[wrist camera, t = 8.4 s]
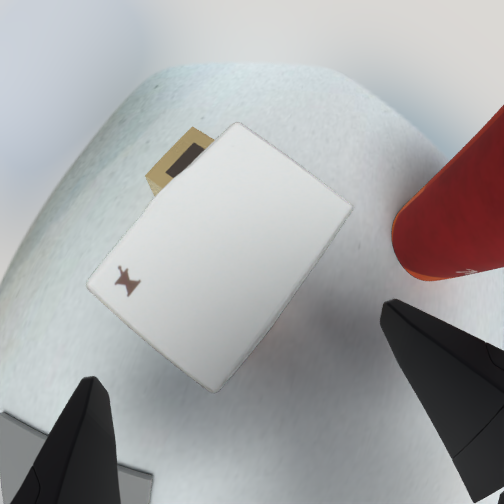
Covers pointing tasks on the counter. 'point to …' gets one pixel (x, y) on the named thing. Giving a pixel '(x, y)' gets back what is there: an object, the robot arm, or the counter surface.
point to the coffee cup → (457, 213)
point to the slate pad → (26, 450)
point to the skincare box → (220, 254)
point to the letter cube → (177, 159)
